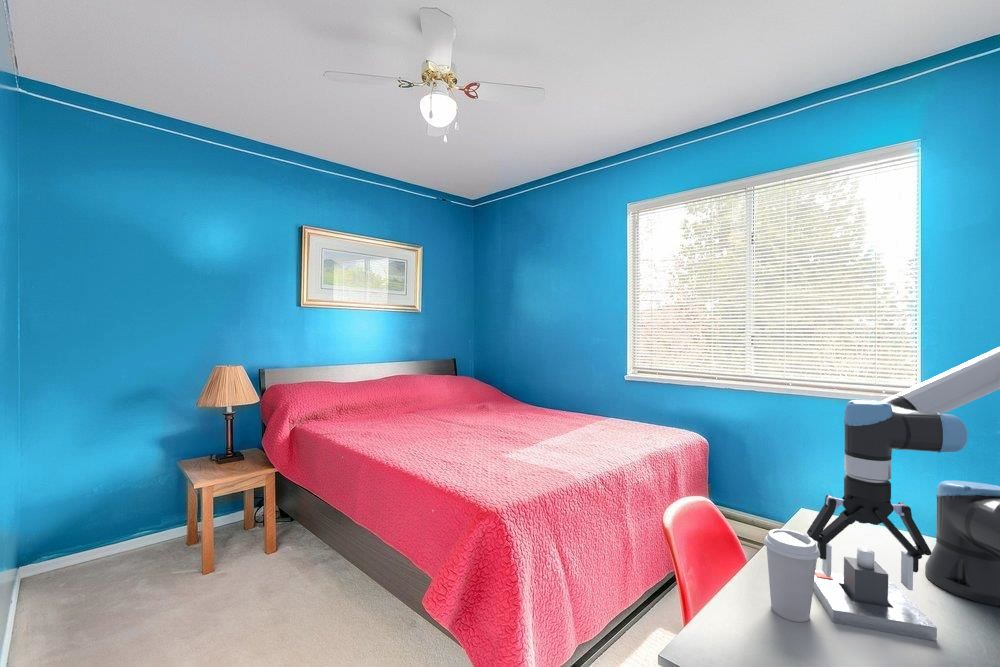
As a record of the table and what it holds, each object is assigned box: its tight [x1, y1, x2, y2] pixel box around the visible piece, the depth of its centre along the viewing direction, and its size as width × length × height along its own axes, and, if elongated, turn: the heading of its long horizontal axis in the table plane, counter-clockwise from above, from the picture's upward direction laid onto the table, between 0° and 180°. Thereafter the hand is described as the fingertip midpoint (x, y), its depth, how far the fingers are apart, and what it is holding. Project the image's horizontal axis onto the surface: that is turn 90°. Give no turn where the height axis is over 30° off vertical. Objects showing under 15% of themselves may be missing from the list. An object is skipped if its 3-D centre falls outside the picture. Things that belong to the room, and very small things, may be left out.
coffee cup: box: [763, 528, 820, 623], centre depth 91 cm, size 10×10×15 cm
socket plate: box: [813, 569, 938, 642], centre depth 93 cm, size 16×16×3 cm
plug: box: [843, 546, 889, 607], centre depth 93 cm, size 6×6×11 cm
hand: (865, 580), depth 93 cm, fingers open, 13 cm apart
